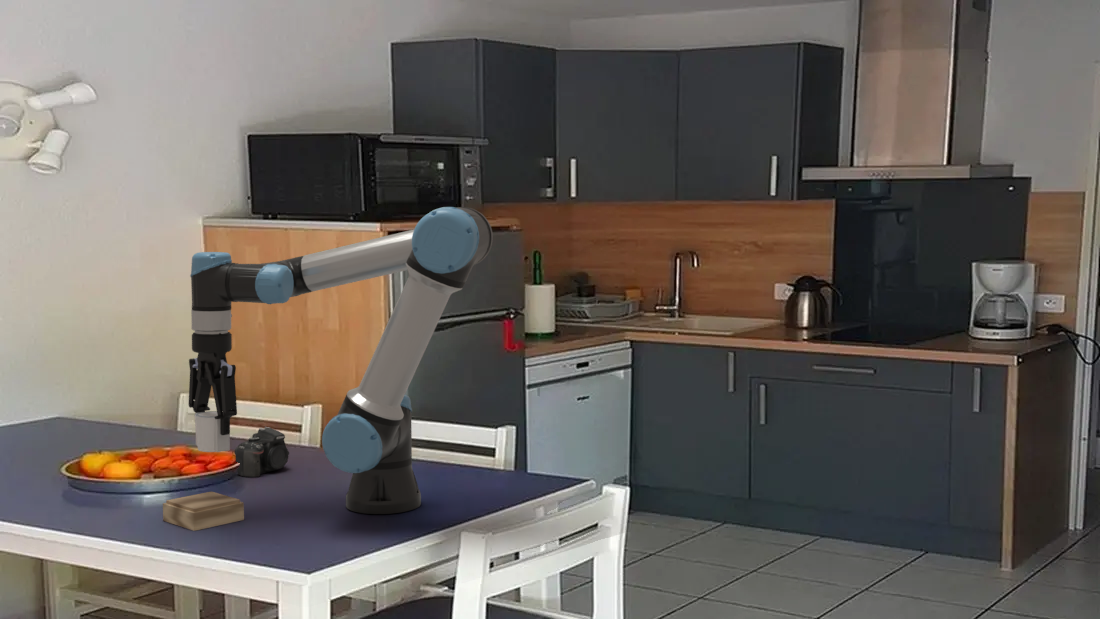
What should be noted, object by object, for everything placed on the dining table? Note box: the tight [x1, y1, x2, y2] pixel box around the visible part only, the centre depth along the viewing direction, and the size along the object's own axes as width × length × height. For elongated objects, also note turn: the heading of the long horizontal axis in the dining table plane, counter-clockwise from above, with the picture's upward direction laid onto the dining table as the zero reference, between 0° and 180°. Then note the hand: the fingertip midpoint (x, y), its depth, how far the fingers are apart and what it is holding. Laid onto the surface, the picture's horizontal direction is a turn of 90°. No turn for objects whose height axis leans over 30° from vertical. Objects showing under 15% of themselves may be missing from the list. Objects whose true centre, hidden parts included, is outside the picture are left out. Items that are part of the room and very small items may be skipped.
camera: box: [234, 426, 290, 479], centre depth 289 cm, size 13×10×10 cm
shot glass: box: [193, 410, 218, 453], centre depth 249 cm, size 7×7×7 cm
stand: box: [162, 491, 245, 532], centre depth 247 cm, size 11×11×4 cm
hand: (212, 447), depth 249 cm, fingers closed on shot glass, 7 cm apart
